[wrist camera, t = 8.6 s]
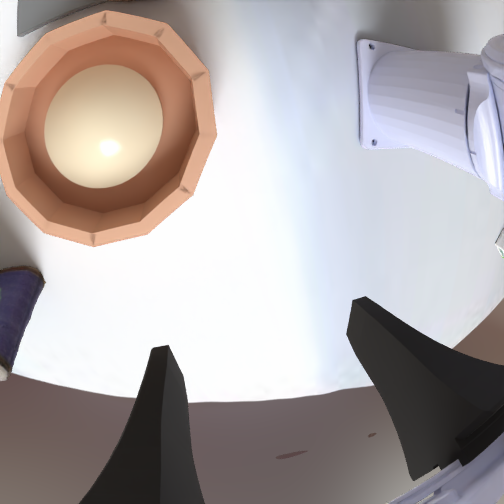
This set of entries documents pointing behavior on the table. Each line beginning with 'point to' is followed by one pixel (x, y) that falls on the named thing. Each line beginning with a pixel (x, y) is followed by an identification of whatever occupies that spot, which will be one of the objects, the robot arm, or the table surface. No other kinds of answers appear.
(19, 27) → the mat
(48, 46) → the bowl
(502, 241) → the syrup box
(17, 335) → the flask
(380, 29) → the table surface
